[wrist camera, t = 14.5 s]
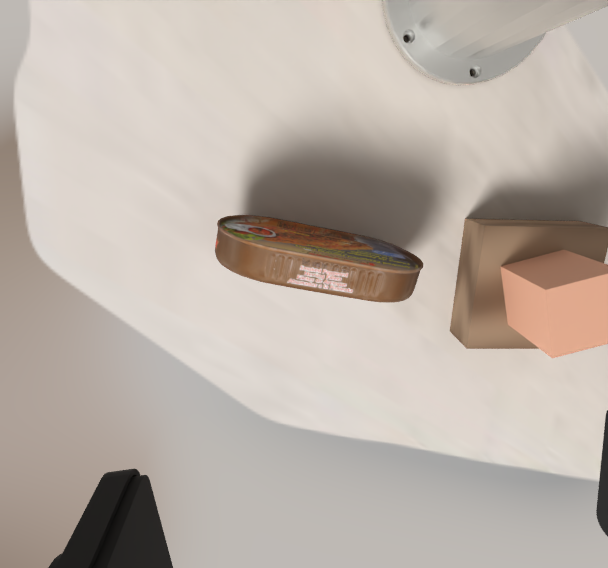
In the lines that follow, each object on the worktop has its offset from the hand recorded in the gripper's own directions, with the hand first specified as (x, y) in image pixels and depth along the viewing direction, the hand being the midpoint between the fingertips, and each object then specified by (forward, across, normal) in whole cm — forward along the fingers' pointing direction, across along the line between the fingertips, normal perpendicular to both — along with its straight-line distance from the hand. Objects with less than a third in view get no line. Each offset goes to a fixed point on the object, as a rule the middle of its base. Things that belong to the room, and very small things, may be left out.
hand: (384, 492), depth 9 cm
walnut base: (+29, -18, +6) cm, 34 cm away
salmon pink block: (+25, -18, +6) cm, 31 cm away
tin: (+29, -1, +1) cm, 29 cm away
